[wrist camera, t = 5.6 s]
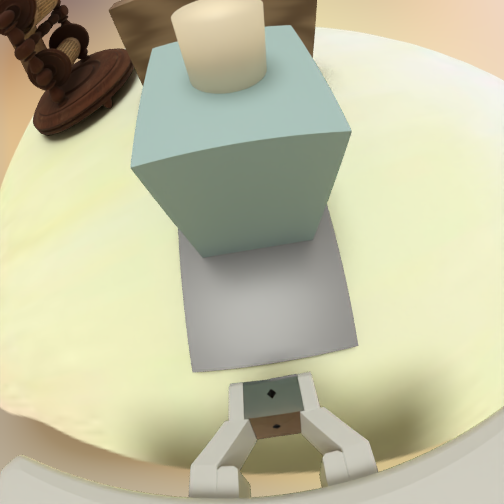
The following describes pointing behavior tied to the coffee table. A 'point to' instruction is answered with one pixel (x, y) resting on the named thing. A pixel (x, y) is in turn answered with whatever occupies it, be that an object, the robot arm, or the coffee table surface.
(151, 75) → the dowel block
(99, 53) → the scroll
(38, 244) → the coffee table surface
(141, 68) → the backstop wall
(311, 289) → the grey flat rectangular plate
